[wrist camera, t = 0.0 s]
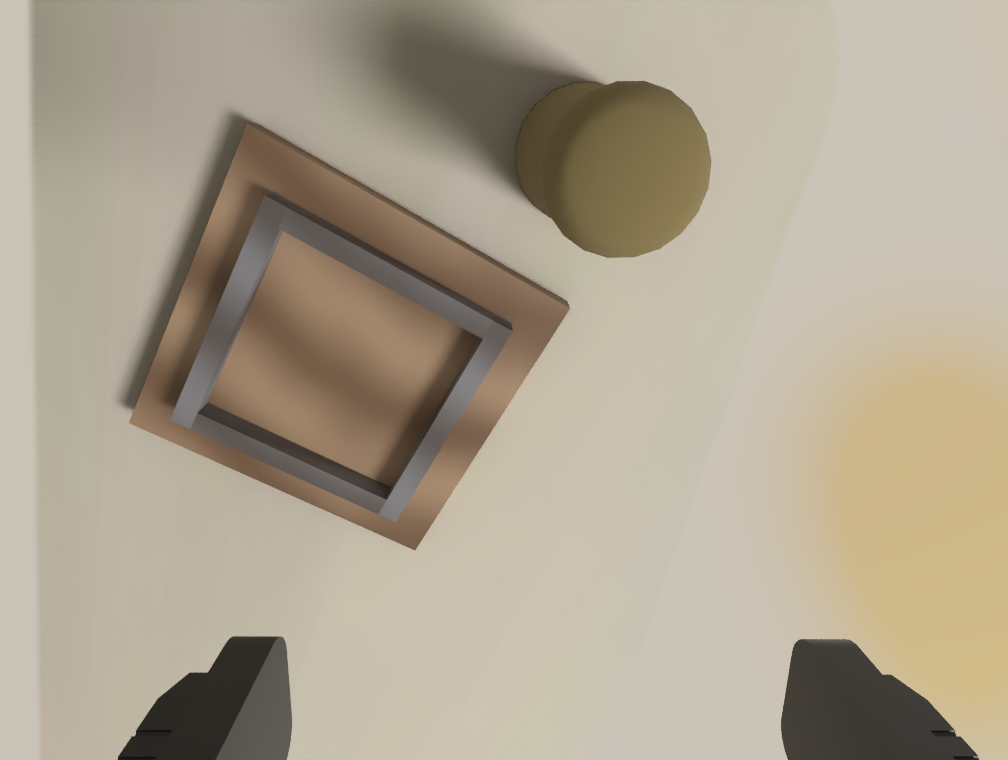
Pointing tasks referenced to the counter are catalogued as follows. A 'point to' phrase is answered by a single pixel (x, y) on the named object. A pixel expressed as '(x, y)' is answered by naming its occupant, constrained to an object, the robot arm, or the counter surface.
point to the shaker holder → (340, 343)
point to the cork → (614, 165)
